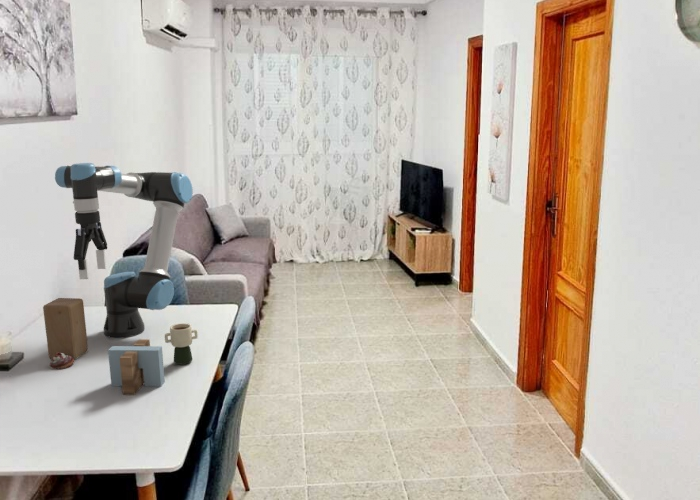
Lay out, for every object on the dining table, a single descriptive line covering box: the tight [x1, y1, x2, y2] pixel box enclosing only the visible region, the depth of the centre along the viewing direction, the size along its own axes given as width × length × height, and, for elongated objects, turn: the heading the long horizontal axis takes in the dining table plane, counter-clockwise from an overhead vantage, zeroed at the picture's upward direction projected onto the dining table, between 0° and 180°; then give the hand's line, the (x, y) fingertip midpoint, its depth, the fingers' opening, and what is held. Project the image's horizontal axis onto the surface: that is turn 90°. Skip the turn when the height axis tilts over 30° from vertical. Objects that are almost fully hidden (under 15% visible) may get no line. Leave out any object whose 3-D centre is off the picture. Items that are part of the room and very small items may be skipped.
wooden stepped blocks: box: [120, 338, 151, 396], centre depth 213 cm, size 16×4×12 cm, turn 176°
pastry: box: [49, 352, 75, 370], centre depth 231 cm, size 8×8×5 cm
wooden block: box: [42, 297, 89, 361], centre depth 238 cm, size 10×10×20 cm
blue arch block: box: [107, 345, 166, 387], centre depth 213 cm, size 16×4×12 cm, turn 87°
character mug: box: [164, 323, 199, 365], centre depth 230 cm, size 11×7×13 cm, turn 112°
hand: (93, 273), depth 226 cm, fingers open, 13 cm apart
